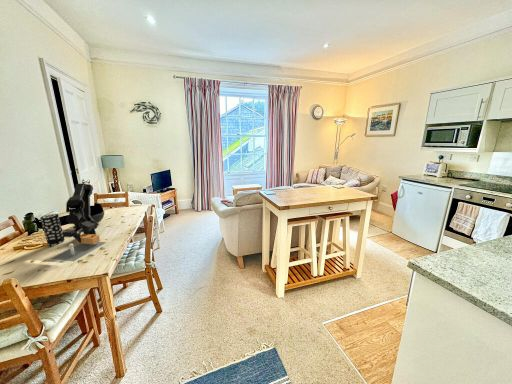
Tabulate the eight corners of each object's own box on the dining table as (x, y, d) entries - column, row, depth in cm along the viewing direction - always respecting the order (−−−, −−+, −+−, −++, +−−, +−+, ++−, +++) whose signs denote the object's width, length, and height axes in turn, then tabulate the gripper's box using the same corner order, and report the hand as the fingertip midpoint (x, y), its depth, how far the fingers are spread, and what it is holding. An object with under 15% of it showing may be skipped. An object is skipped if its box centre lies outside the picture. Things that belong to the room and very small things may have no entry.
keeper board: (50, 261, 120) (46, 246, 118) (86, 242, 141) (83, 230, 139) (74, 263, 118) (71, 249, 115) (107, 244, 139) (104, 231, 136)
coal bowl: (69, 227, 164) (63, 205, 159) (96, 218, 182) (92, 198, 177) (85, 232, 157) (80, 208, 152) (111, 222, 175) (107, 200, 170)
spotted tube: (68, 242, 141) (61, 214, 136) (53, 248, 134) (45, 219, 129) (60, 240, 144) (53, 213, 139) (45, 246, 136) (37, 217, 131)
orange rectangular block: (77, 242, 134) (75, 237, 133) (84, 239, 139) (82, 233, 137) (93, 244, 132) (92, 238, 131) (100, 240, 137) (98, 235, 136)
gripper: (75, 224, 122) (80, 248, 126) (102, 213, 139) (106, 235, 143) (59, 223, 123) (65, 247, 127) (88, 212, 141) (92, 233, 145)
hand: (83, 240), depth 136 cm, fingers closed on orange rectangular block, 5 cm apart
